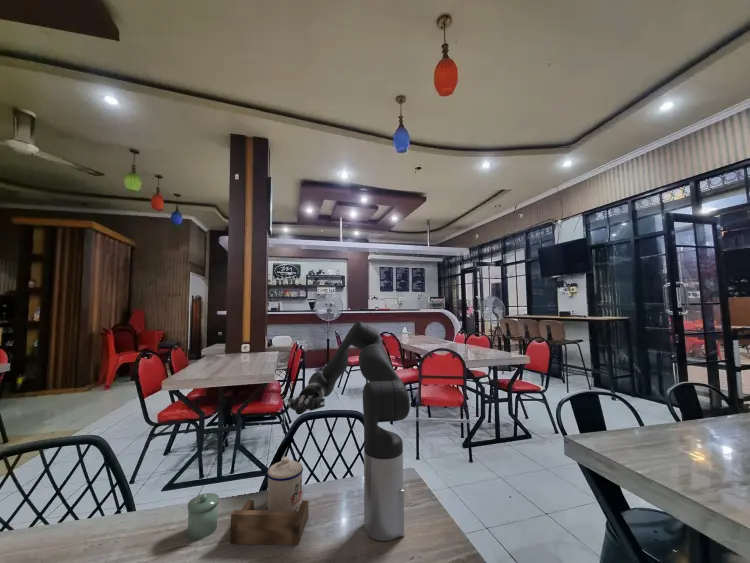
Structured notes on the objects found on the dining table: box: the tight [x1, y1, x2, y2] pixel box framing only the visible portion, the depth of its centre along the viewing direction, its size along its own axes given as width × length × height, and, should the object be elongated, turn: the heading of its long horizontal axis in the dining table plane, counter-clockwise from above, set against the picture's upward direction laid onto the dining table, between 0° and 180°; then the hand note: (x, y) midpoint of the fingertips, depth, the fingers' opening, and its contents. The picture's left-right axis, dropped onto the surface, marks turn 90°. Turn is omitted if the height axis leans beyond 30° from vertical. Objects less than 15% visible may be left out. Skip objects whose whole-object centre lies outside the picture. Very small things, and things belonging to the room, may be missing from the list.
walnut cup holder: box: [229, 499, 310, 546], centre depth 74 cm, size 15×9×6 cm, turn 88°
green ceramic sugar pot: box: [186, 492, 220, 540], centre depth 75 cm, size 6×6×8 cm
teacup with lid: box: [266, 456, 304, 511], centre depth 86 cm, size 12×9×12 cm
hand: (299, 411), depth 98 cm, fingers closed
